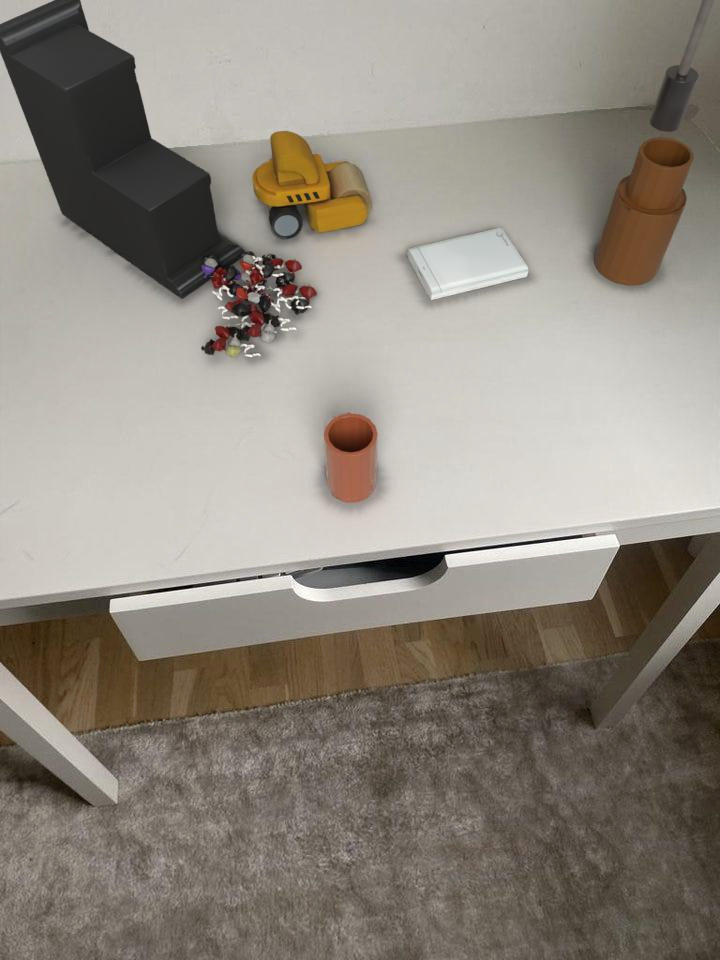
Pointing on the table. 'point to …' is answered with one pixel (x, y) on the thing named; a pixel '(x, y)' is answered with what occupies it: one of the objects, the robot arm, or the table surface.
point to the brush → (680, 79)
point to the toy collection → (253, 299)
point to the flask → (644, 212)
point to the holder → (351, 457)
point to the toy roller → (309, 188)
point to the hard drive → (467, 263)
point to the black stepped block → (110, 149)
